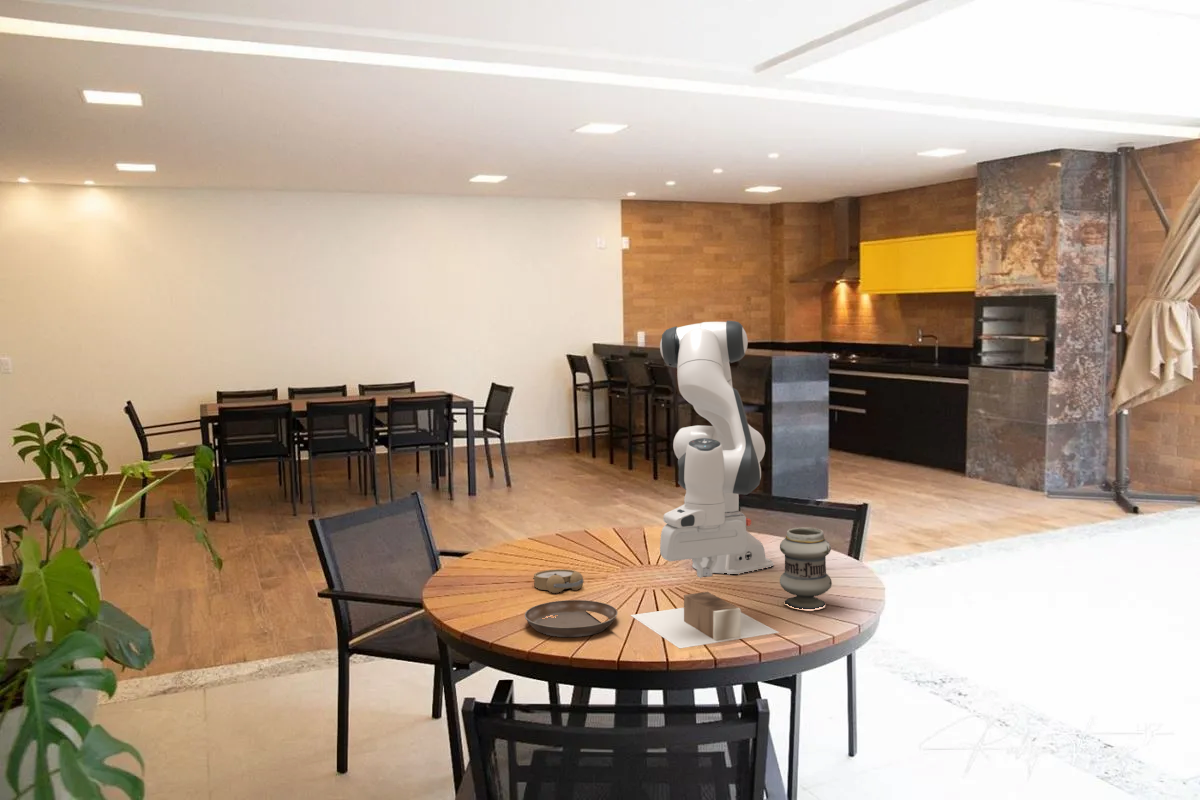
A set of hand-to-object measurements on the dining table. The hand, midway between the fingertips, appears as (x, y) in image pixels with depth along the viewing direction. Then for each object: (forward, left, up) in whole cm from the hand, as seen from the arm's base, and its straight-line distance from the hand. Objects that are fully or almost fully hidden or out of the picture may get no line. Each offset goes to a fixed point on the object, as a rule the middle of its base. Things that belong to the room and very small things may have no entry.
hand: (704, 576), depth 202 cm
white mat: (0, -1, -12) cm, 12 cm away
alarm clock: (+18, -44, -12) cm, 49 cm away
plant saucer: (+26, -14, -12) cm, 32 cm away
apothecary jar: (-30, -5, -12) cm, 33 cm away
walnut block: (0, -4, -8) cm, 9 cm away
